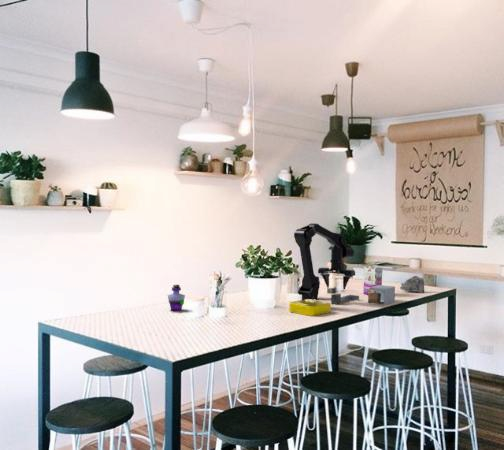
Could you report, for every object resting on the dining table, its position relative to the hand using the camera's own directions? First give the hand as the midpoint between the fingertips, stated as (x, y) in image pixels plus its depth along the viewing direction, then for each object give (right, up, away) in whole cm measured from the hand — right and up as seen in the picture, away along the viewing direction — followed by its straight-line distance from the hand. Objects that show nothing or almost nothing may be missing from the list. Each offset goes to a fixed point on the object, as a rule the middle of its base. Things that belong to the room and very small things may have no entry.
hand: (336, 288), depth 272 cm
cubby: (+26, -8, +8) cm, 28 cm away
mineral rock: (+54, -8, +47) cm, 72 cm away
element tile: (-16, -9, -24) cm, 30 cm away
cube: (+21, -8, +6) cm, 24 cm away
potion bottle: (-80, -8, -24) cm, 84 cm away
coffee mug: (-11, -8, +16) cm, 21 cm away
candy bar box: (+26, -8, +32) cm, 42 cm away
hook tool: (+6, -8, +6) cm, 12 cm away
